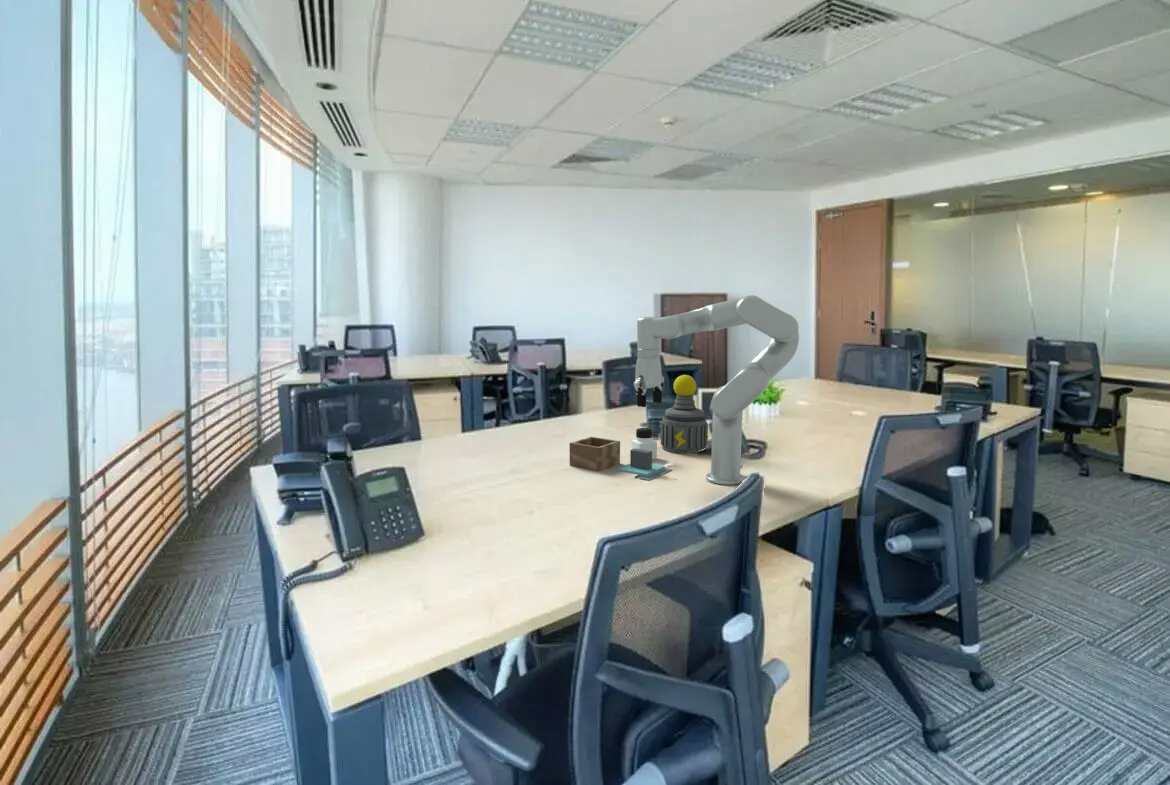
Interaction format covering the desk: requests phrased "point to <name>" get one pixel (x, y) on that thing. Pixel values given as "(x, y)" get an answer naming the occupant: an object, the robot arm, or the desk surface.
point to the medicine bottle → (645, 441)
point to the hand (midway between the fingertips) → (649, 404)
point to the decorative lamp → (684, 421)
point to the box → (594, 453)
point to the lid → (641, 464)
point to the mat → (654, 474)
